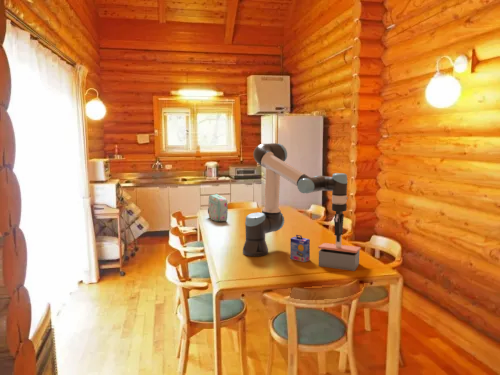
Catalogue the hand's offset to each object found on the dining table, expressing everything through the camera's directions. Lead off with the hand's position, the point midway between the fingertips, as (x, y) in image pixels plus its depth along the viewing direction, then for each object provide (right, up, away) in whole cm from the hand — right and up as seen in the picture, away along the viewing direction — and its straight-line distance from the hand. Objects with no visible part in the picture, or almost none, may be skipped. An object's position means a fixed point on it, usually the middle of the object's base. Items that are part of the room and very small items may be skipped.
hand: (338, 247), depth 201 cm
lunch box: (-74, +4, +119) cm, 140 cm away
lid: (+1, -1, +3) cm, 3 cm away
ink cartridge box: (-19, -9, +13) cm, 25 cm away
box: (+1, -10, +4) cm, 11 cm away
